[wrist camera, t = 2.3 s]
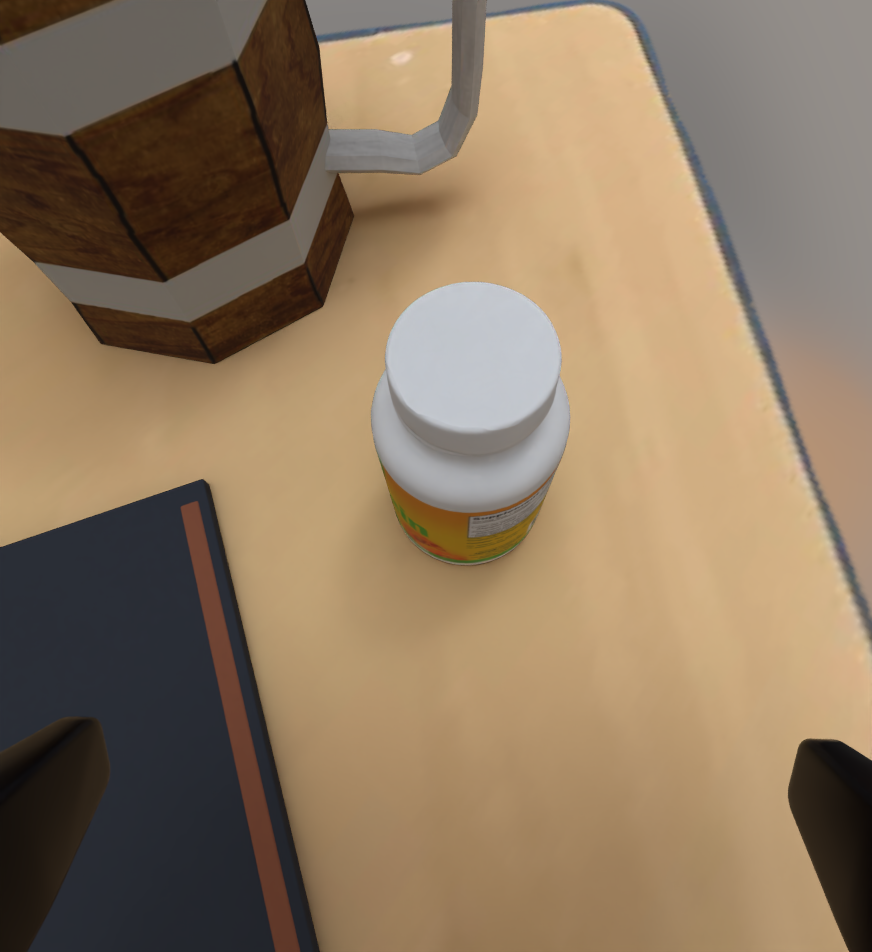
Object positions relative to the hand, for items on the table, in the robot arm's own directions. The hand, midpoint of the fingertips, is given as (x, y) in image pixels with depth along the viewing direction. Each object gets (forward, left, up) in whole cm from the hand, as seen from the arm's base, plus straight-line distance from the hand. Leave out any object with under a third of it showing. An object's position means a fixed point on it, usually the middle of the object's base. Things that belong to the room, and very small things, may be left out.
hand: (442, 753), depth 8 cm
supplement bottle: (+7, -3, -13) cm, 15 cm away
